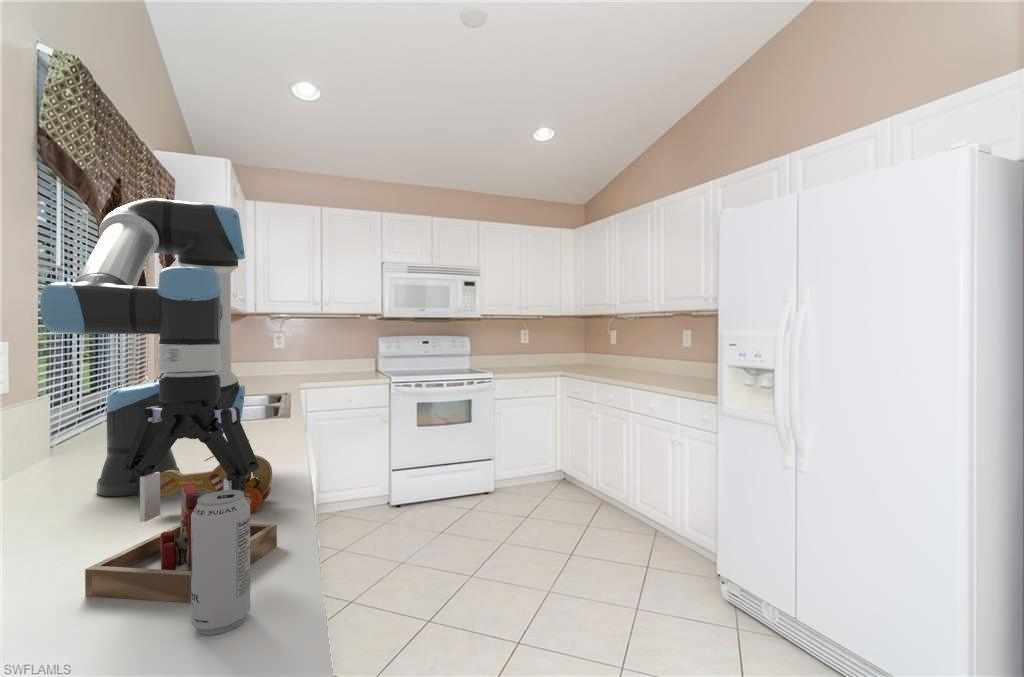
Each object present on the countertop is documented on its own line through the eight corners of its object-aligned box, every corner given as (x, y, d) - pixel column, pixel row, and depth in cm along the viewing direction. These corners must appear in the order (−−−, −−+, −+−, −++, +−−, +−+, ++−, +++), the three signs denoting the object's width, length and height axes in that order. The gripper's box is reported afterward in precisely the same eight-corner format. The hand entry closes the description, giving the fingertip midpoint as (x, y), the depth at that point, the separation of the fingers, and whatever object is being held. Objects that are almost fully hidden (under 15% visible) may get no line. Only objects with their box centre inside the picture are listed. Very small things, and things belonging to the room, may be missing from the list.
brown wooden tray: (186, 541, 81) (186, 520, 81) (276, 546, 79) (276, 524, 79) (85, 595, 64) (85, 569, 64) (197, 603, 62) (197, 575, 62)
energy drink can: (200, 613, 60) (199, 491, 60) (254, 604, 62) (254, 486, 62) (183, 642, 54) (183, 507, 54) (244, 632, 56) (244, 501, 56)
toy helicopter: (265, 513, 94) (265, 442, 94) (143, 522, 89) (143, 447, 89) (277, 499, 102) (276, 434, 102) (165, 506, 97) (165, 438, 97)
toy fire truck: (162, 586, 64) (161, 507, 64) (159, 553, 74) (159, 484, 74) (223, 570, 68) (222, 496, 68) (212, 541, 78) (212, 476, 78)
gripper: (90, 375, 69) (91, 526, 69) (252, 376, 66) (252, 534, 66) (137, 371, 76) (137, 508, 76) (284, 372, 74) (284, 514, 74)
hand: (191, 520), depth 71 cm, fingers open, 12 cm apart
